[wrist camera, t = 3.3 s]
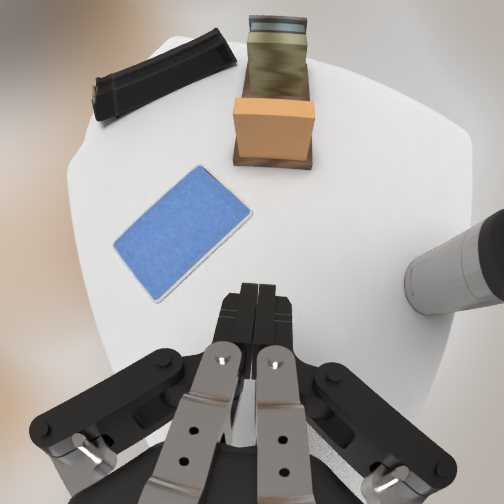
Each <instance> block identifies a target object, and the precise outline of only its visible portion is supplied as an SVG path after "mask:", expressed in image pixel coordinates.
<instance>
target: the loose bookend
mask: <svg viewBox="0 0 504 504" xmlns="http://www.w3.org/2000/svg"><path fill="white" fill-rule="evenodd" d="M233 118H234V124H235V131H236V137H237V144H238V150H239V157H242V158H266V159H283V160H297V161H306V158H307V154H308V149H309V145H310V140H311V135H312V131H313V126H314V121H315V110H314V102H310V101H299V100H285V99H266V98H236V99H235V105H234V110H233Z"/></svg>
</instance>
